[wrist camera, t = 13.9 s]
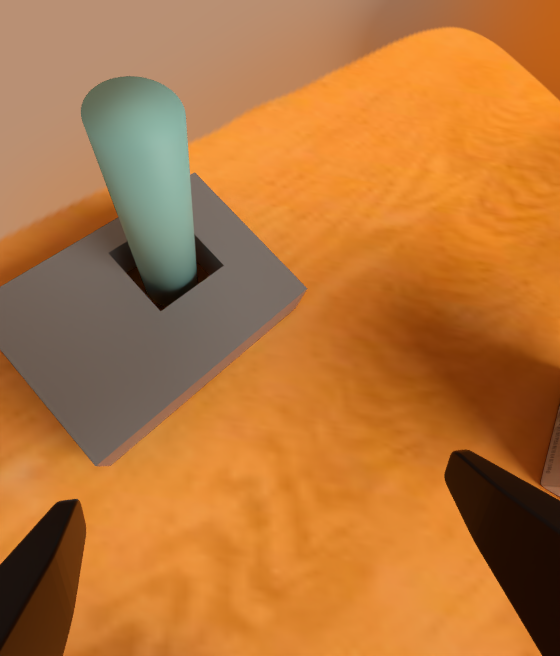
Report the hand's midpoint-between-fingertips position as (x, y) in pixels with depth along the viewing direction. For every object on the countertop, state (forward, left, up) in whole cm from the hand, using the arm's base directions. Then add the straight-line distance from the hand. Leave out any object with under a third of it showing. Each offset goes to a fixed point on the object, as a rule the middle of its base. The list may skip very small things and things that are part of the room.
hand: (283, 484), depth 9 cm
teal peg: (+10, +7, -13) cm, 18 cm away
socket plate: (+7, +7, -13) cm, 16 cm away
